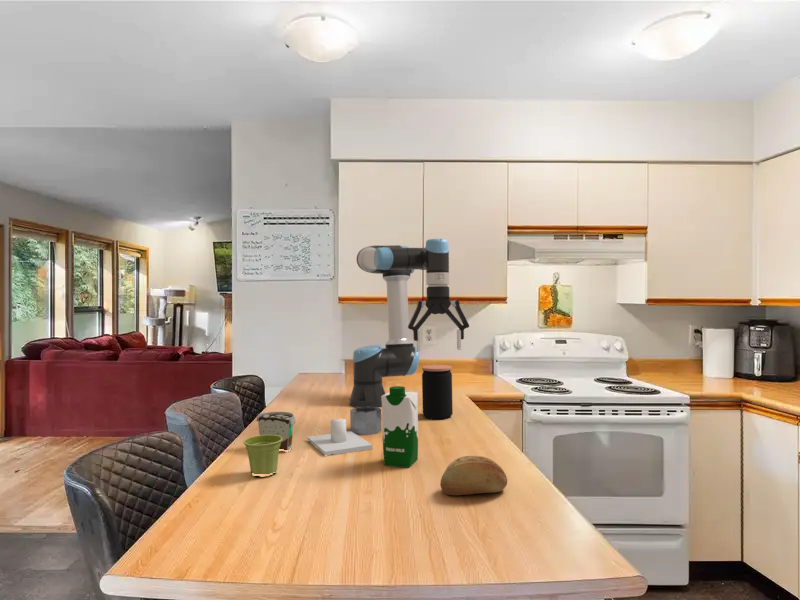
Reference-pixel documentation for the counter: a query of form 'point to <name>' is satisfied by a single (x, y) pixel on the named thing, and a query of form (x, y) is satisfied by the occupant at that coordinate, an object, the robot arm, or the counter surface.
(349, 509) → the counter surface
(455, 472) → the bread roll
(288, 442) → the food container
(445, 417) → the coffee jar
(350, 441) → the panel
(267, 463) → the plant pot
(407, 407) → the milk carton
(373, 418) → the collar
